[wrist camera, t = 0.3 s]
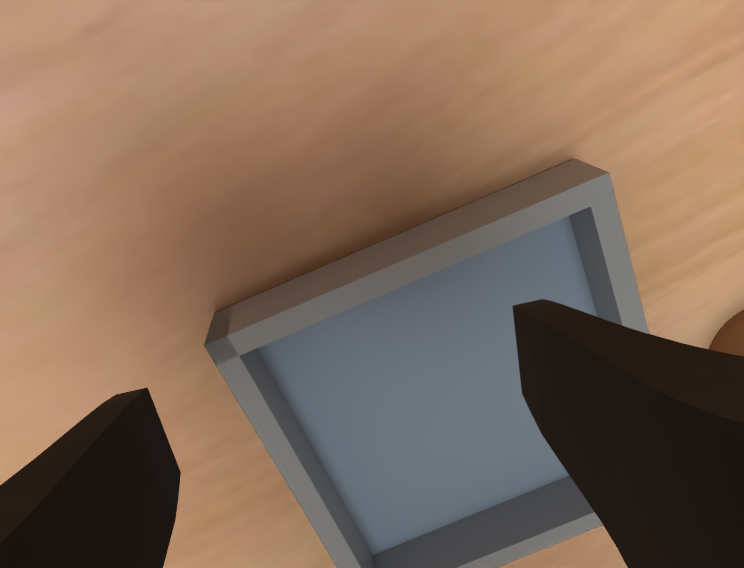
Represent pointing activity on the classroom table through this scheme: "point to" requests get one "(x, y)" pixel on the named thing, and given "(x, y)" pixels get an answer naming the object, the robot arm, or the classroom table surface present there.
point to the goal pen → (430, 376)
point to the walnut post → (730, 336)
